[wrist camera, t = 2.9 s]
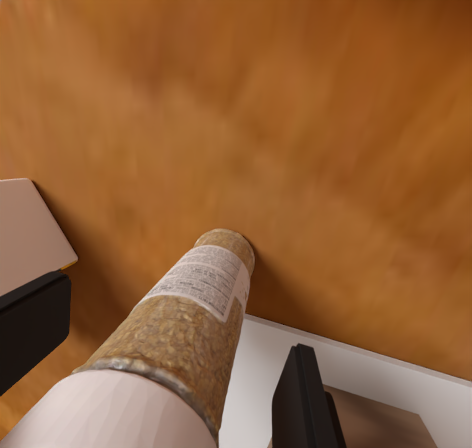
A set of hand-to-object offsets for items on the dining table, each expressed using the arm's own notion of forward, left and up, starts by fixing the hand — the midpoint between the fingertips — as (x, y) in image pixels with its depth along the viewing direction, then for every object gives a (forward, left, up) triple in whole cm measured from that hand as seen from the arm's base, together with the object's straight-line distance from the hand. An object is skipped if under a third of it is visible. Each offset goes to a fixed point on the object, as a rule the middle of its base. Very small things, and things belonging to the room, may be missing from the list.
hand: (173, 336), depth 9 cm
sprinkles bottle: (0, 0, -8) cm, 8 cm away
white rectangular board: (-12, +12, -8) cm, 19 cm away
